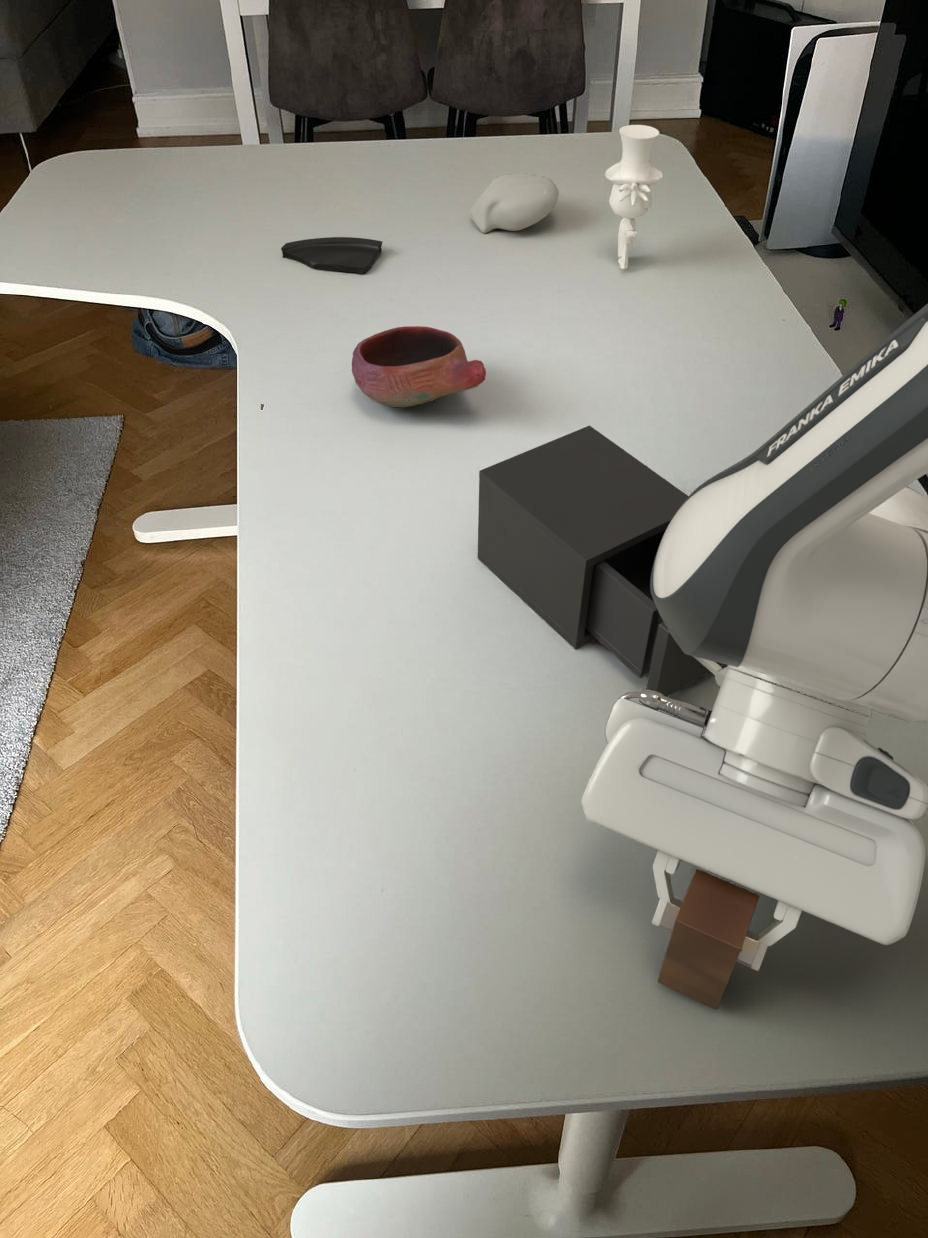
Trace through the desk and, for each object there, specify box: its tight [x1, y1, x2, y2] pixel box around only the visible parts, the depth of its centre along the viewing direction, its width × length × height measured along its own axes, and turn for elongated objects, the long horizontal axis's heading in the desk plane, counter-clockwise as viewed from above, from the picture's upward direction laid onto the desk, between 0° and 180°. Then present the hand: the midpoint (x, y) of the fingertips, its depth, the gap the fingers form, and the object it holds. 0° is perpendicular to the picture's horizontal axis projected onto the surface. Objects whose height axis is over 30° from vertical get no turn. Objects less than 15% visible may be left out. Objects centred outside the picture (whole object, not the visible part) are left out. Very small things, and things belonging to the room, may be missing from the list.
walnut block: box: [656, 868, 760, 1011], centre depth 62 cm, size 4×4×8 cm
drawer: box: [585, 530, 751, 697], centre depth 83 cm, size 18×12×8 cm, turn 35°
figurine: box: [604, 124, 664, 270], centre depth 135 cm, size 10×8×18 cm
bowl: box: [351, 325, 487, 408], centre depth 113 cm, size 16×13×8 cm
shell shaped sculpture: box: [469, 173, 560, 234], centre depth 149 cm, size 13×13×6 cm
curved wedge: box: [280, 236, 383, 274], centre depth 142 cm, size 8×14×2 cm, turn 74°
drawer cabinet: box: [477, 425, 689, 650], centre depth 90 cm, size 15×13×10 cm
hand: (705, 946), depth 62 cm, fingers closed on walnut block, 4 cm apart
